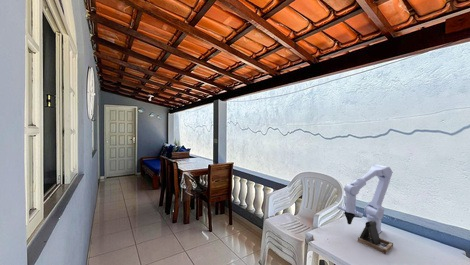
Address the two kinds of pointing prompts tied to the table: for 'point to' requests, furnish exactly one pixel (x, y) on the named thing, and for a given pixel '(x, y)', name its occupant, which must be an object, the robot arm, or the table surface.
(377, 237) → the phone stand
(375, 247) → the walnut bracket
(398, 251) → the table surface
